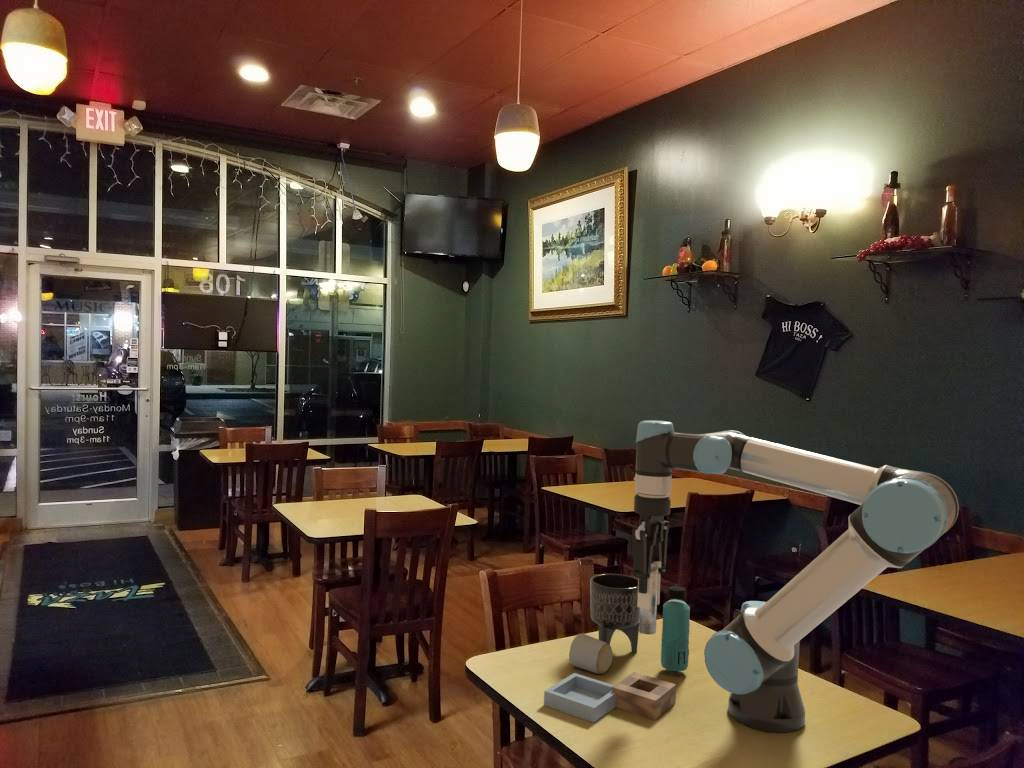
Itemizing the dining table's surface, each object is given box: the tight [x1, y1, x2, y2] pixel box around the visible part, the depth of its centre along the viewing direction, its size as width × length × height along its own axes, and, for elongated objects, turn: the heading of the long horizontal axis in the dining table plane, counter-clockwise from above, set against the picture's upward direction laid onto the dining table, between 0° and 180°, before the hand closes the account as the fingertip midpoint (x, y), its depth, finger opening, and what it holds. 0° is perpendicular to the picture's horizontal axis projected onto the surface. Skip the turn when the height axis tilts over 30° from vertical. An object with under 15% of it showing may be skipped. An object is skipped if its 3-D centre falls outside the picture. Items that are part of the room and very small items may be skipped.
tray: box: [543, 672, 616, 723], centre depth 161 cm, size 12×12×3 cm
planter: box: [589, 573, 640, 654], centre depth 190 cm, size 13×13×18 cm
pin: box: [639, 559, 661, 635], centre depth 161 cm, size 5×5×15 cm
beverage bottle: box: [660, 585, 691, 672], centre depth 179 cm, size 6×7×20 cm
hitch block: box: [612, 671, 677, 721], centre depth 162 cm, size 10×10×4 cm
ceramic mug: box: [568, 632, 614, 675], centre depth 180 cm, size 11×8×8 cm
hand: (648, 605), depth 161 cm, fingers closed on pin, 3 cm apart
